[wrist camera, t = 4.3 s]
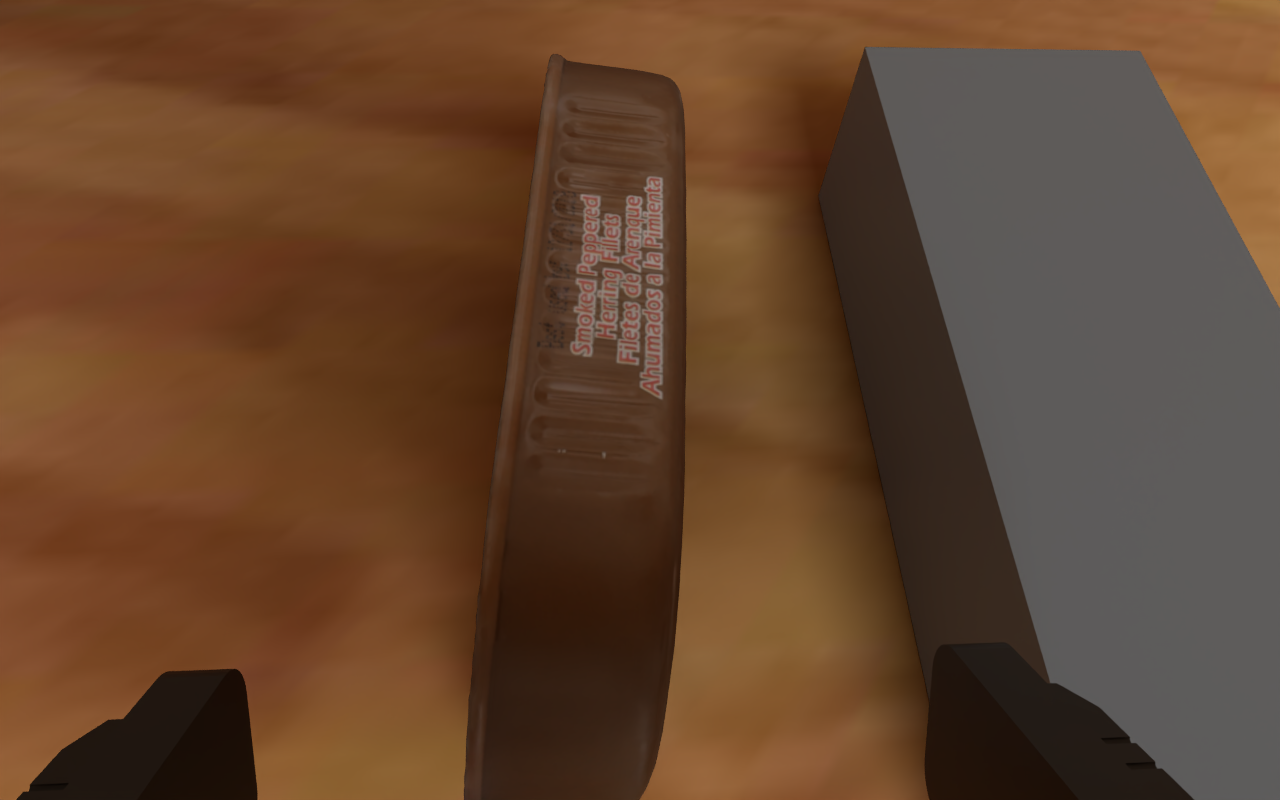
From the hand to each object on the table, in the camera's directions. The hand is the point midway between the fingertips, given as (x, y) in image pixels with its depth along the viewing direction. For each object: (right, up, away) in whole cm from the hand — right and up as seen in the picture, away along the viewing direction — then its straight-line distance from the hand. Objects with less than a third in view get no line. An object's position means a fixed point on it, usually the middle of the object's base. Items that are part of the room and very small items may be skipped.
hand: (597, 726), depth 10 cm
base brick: (+10, +2, +11) cm, 15 cm away
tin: (-1, +1, +10) cm, 10 cm away
